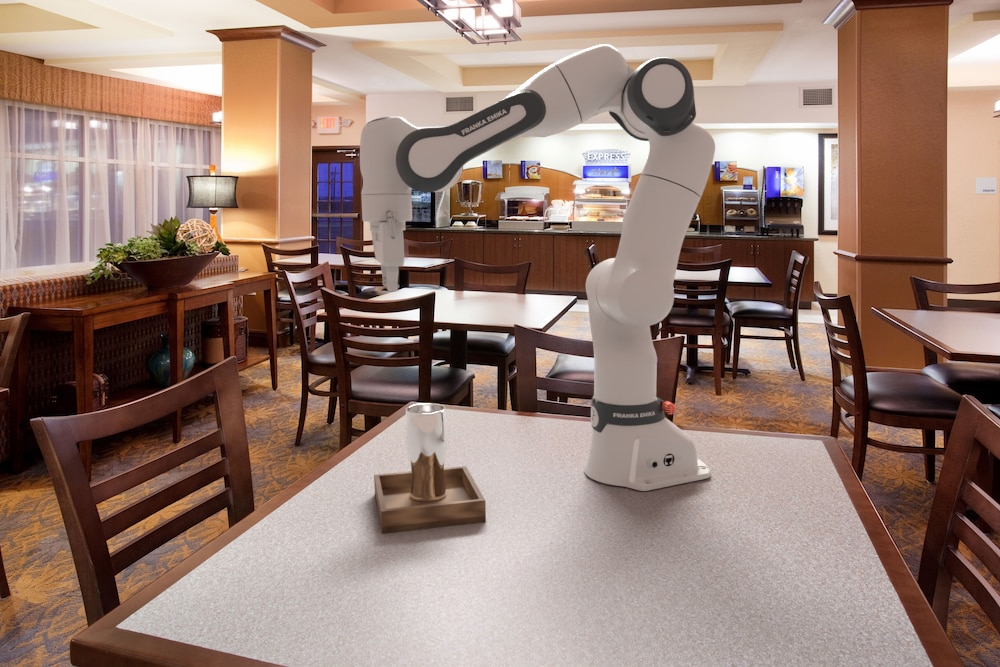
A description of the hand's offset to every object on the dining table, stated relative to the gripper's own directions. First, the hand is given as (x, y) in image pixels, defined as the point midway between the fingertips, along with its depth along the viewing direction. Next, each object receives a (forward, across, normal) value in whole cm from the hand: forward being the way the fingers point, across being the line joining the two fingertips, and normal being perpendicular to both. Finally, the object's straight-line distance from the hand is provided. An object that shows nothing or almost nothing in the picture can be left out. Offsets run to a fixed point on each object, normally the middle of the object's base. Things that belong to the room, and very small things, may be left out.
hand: (390, 288), depth 131 cm
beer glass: (+33, -17, -4) cm, 38 cm away
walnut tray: (+34, -20, -3) cm, 40 cm away
